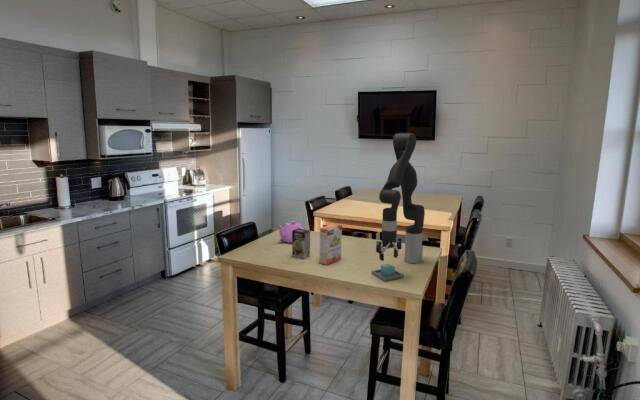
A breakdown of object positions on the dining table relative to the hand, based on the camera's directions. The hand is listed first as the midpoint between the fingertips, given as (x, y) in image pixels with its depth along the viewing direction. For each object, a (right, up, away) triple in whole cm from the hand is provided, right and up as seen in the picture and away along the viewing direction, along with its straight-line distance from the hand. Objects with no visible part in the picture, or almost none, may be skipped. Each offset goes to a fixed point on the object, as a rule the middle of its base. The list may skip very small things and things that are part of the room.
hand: (388, 258), depth 199 cm
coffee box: (-47, -4, +32) cm, 57 cm away
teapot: (-55, +2, +63) cm, 84 cm away
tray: (0, -9, +2) cm, 9 cm away
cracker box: (-29, -5, +24) cm, 38 cm away
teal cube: (0, -9, +1) cm, 9 cm away
